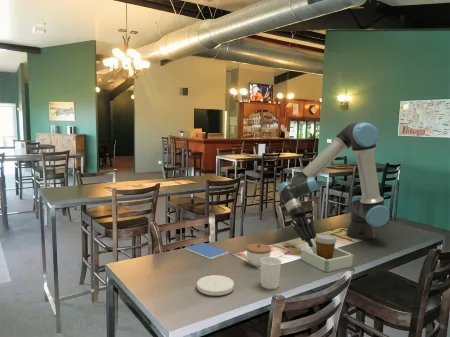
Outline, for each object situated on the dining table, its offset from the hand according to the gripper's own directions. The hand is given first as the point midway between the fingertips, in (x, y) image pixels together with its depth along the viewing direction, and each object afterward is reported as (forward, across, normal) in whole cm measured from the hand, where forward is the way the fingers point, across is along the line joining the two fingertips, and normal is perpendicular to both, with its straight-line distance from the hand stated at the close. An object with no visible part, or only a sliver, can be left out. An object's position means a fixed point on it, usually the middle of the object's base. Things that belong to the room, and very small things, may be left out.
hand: (316, 252), depth 167 cm
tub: (+6, -1, +2) cm, 7 cm away
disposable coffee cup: (+6, 0, +1) cm, 6 cm away
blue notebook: (-19, +42, -25) cm, 53 cm away
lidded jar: (-2, +28, -7) cm, 29 cm away
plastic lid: (+7, +56, +3) cm, 57 cm away
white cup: (+12, +36, +8) cm, 39 cm away
